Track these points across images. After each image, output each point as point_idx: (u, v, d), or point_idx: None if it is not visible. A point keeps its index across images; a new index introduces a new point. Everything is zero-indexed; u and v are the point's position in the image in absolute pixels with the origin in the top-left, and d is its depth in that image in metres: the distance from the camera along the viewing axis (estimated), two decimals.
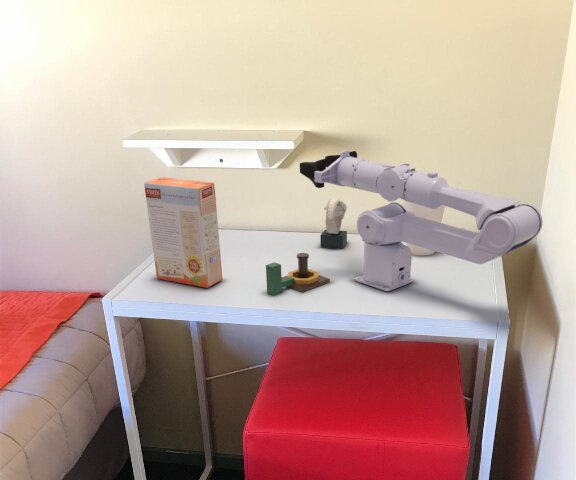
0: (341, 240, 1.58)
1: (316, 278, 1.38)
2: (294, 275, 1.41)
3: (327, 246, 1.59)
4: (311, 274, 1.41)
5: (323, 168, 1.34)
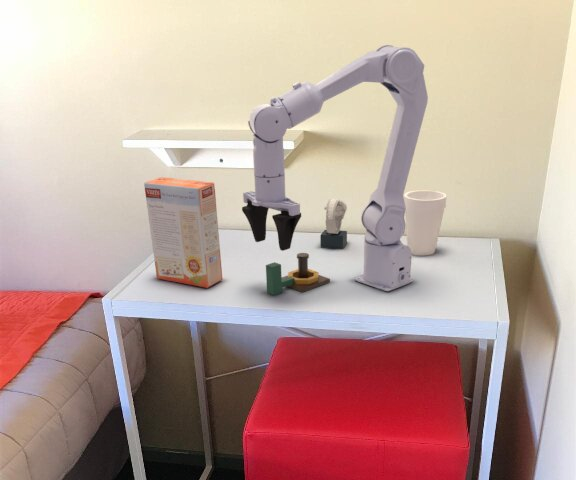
0: (341, 240, 1.58)
1: (316, 278, 1.38)
2: (294, 275, 1.41)
3: (327, 246, 1.59)
4: (311, 274, 1.41)
5: (282, 214, 1.24)
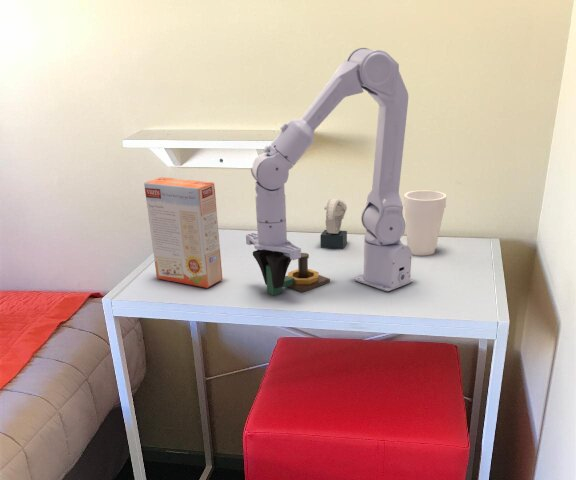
0: (341, 240, 1.58)
1: (316, 278, 1.38)
2: (294, 275, 1.41)
3: (327, 246, 1.59)
4: (311, 274, 1.41)
5: (275, 254, 1.29)
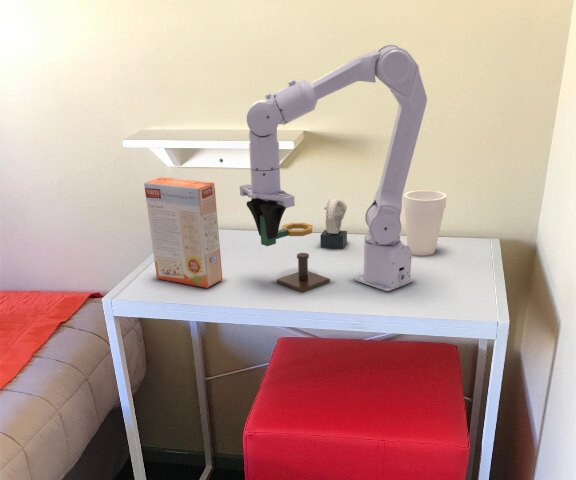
0: (341, 240, 1.58)
1: (310, 230, 1.38)
2: (288, 228, 1.41)
3: (327, 246, 1.59)
4: (305, 227, 1.41)
5: (268, 203, 1.30)
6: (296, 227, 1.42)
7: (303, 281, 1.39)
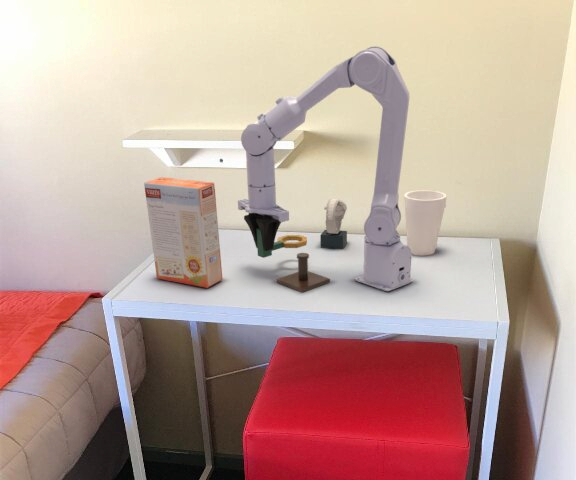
0: (341, 240, 1.58)
1: (304, 242, 1.46)
2: (284, 240, 1.49)
3: (327, 246, 1.59)
4: (300, 239, 1.49)
5: (264, 218, 1.37)
6: (291, 239, 1.50)
7: (303, 281, 1.39)
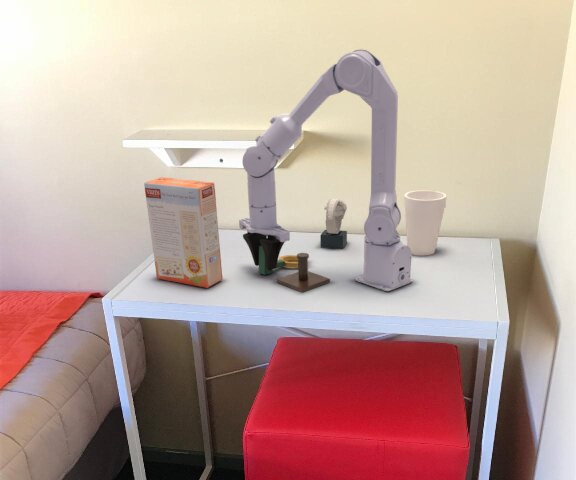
0: (341, 240, 1.58)
1: None
2: (284, 260, 1.51)
3: (327, 246, 1.59)
4: None
5: (268, 238, 1.39)
6: (292, 259, 1.52)
7: (303, 281, 1.39)
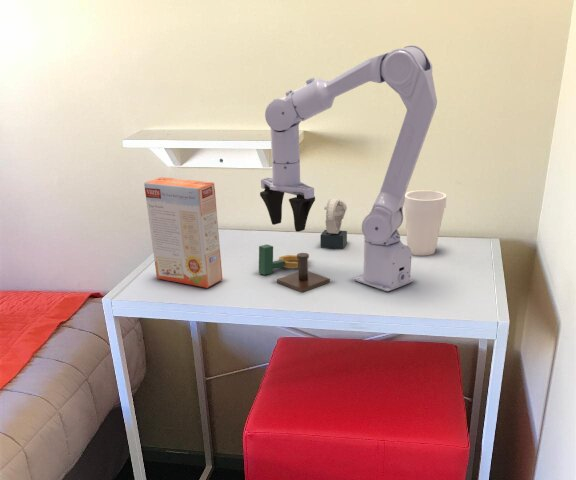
0: (341, 240, 1.58)
1: None
2: (284, 260, 1.51)
3: (327, 246, 1.59)
4: None
5: (297, 197, 1.35)
6: (292, 259, 1.52)
7: (303, 281, 1.39)
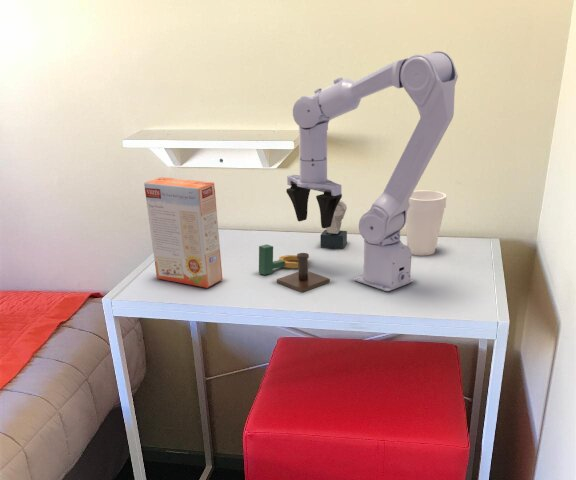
0: (341, 240, 1.58)
1: None
2: (284, 260, 1.51)
3: (327, 246, 1.59)
4: None
5: (324, 194, 1.36)
6: (292, 259, 1.52)
7: (303, 281, 1.39)
